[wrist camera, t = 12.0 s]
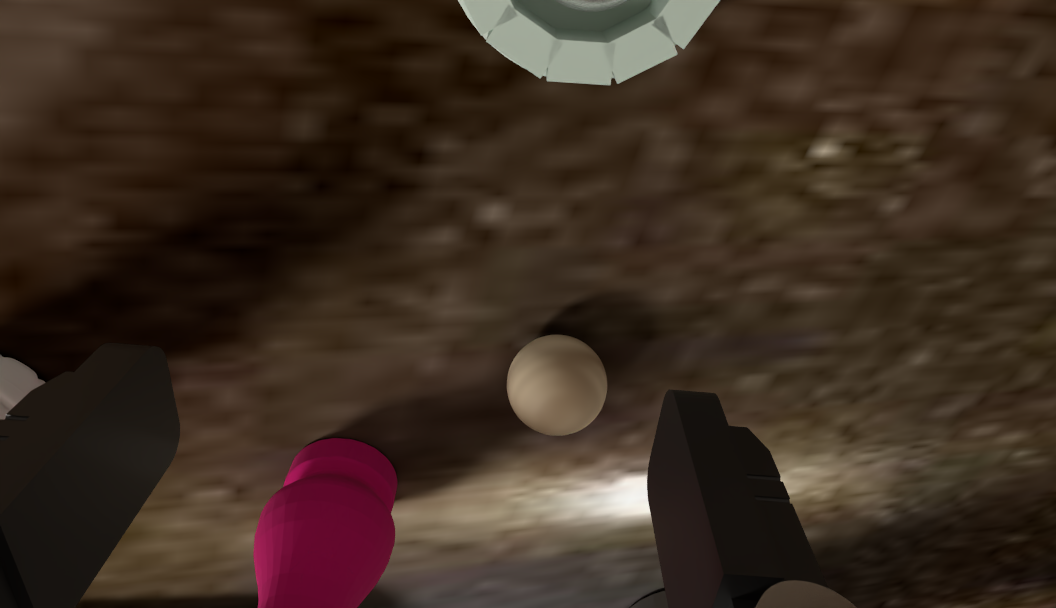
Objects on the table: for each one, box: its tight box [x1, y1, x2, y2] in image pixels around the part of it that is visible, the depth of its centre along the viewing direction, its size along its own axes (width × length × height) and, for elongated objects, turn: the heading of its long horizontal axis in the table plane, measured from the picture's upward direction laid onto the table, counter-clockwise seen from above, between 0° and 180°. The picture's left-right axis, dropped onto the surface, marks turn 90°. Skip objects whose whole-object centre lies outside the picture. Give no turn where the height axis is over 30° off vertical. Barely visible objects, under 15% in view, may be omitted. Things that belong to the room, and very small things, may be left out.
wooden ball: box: [507, 335, 607, 436], centre depth 35 cm, size 5×5×5 cm
